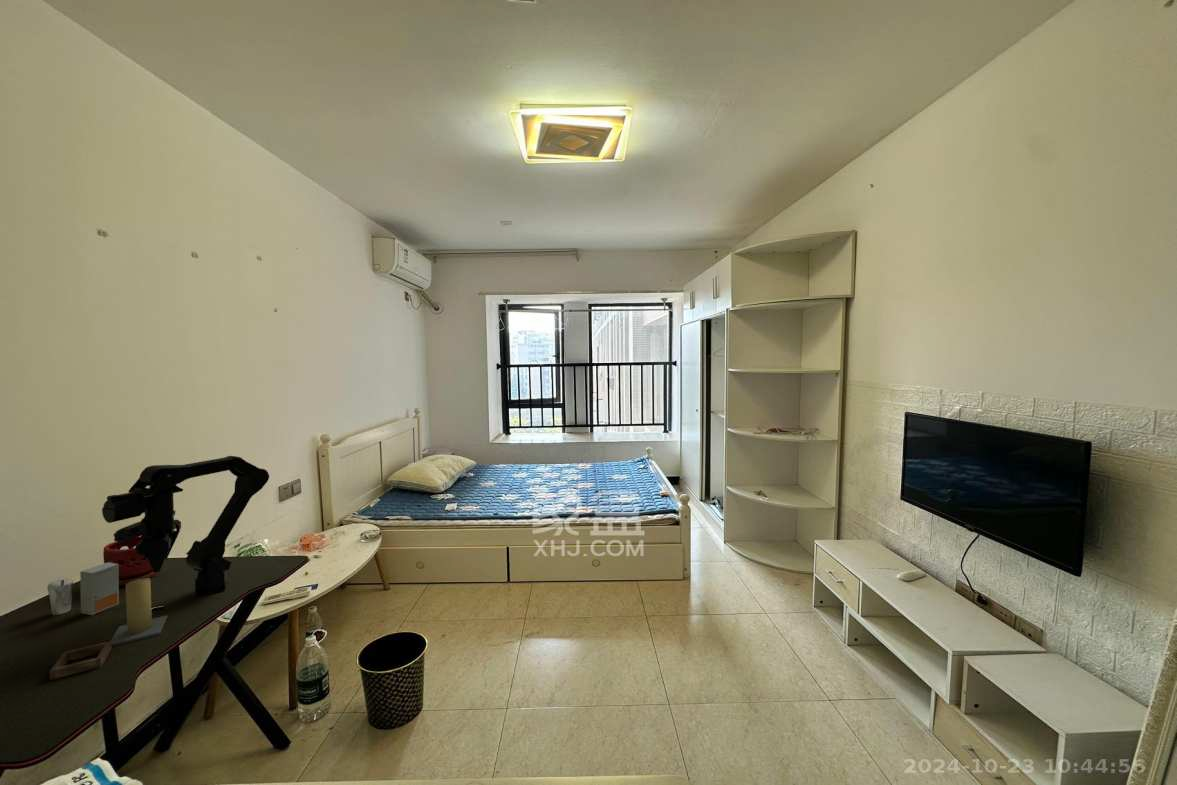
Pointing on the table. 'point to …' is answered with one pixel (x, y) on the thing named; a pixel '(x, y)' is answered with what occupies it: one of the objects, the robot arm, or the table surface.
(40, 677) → the table surface
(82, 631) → the table surface
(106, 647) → the walnut socket
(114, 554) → the plant pot
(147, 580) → the wooden shaft
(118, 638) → the slate mat
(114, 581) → the skincare box
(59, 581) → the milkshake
